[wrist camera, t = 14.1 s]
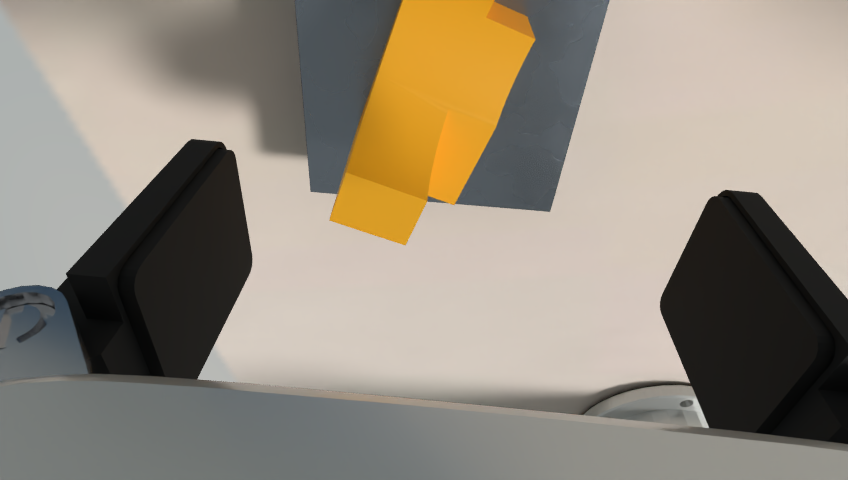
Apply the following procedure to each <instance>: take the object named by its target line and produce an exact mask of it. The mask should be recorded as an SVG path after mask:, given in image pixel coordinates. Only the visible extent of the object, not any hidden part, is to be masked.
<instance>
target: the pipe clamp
mask: <svg viewBox="0 0 848 480" xmlns="http://www.w3.org/2000/svg"><path fill="white" fill-rule="evenodd" d="M535 40H536V39H535V36H534V34H533V31H532V28H531V25H530V23H529V20H528V17H527V16H525V15H523V14H521V13H518V12H516V11H514V10H512V9H509V8H507V7H505V6H503V5H500V4H498V3H496V2H494V0H401V3H400V6H399V9H398V11H397V14H396V17H395V20H394V23H393V26H392V29H391V32H390V35H389V37H388V40H387V43H386V46H385V49H384V52H383V55H382V58H381V61H380V63H379V66H378V69H377V72H376V75H375V78H374V81H373V84H372V86H371V89H370V92H369V95H368V98H367V101H366V104H365V107H364V110H363V112H362V115H361V118H360V121H359V124H358V127H357V130H356V134H355V137H354V140H353V144H352V147H351V150H350V154H349V157H348V160H347V163H346V167H345V170H344V173H343V177H342V180H341V183H340V187H339V190H338V193H337V197H336V200H335V203H334V206H333V210H332V213H331V216H330V221H333V222H336V223H339V224H342V225H345V226H348V227H351V228H354V229H357V230H360V231H363V232H366V233H369V234H372V235H375V236H378V237H382V238H385V239H388V240H391V241H394V242H397V243H400V244H403V245H406V243H407V241H408V239H409V237H410V235H411V233H412V231H413V229H414V227H415V225H416V223H417V221H418V219H419V217H420V215H421V213H422V211H423V209H424V207H425V205H426V203H427V199H428V196H430V197H433V198H435V199H438V200H441V201H444V202H447V203H450V204H452V205H454V204H455V203H456V201H457V199H458V197H459V195H460V193H461V191H462V190H463V188H464V186H465V184H466V182H467V180H468V179H469V177H470V175H471V173H472V171H473V169H474V167H475V166H476V164H477V162H478V160H479V158H480V156H481V154H482V153H483V151H484V149H485V147H486V145H487V143H488V141H489V140H490V138H491V136H492V134H493V132H494V130H495V128H496V126H497V123H498V120H499V118H500V115H501V112H502V109H503V107H504V104H505V102H506V99H507V97H508V95H509V92H510V90H511V88H512V85H513V83H514V81H515V79H516V77H517V74H518V72H519V70H520V68H521V66H522V64H523V62H524V60H525V58H526V56H527V54H528V52H529V51H530V49H531V47H532V45H533V43H534V41H535Z"/></svg>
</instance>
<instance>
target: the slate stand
mask: <svg viewBox="0 0 848 480" xmlns="http://www.w3.org/2000/svg"><path fill="white" fill-rule="evenodd" d="M494 2H496V3H498V4H500V5H503V6H505V7H507V8H509V9H512V10H514V11H516V12H518V13H521V14H523V15H525V16H527V17H528V20H529V23H530V25H531V28H532V31H533V34H534V36H535V39H536V40H535V41H534V43H533V45H532V47H531V49H530V51H529V52H528V54H527V56H526V58H525V60H524V62H523V64H522V66H521V68H520V70H519V72H518V74H517V77H516V79H515V81H514V83H513V85H512V88H511V90H510V92H509V95H508V97H507V99H506V102H505V104H504V107H503V109H502V112H501V115H500V118H499V120H498V123H497V126H496V128H495V130H494V132H493V134H492V136H491V138H490V140H489V141H488V143H487V145H486V147H485V149H484V151H483V153H482V154H481V156H480V158H479V160H478V162H477V164H476V166H475V167H474V169H473V171H472V173H471V175H470V177H469V179H468V180H467V182H466V184H465V186H464V188H463V190H462V191H461V193H460V195H459V197H458V199H457V201H456V203H455V204H464V205H476V206H488V207H500V208H512V209H524V210H536V211H548V212H550V210H551V206H552V203H553V199H554V196H555V192H556V189H557V185H558V182H559V178H560V174H561V171H562V167H563V164H564V160H565V157H566V153H567V150H568V146H569V142H570V139H571V135H572V132H573V128H574V125H575V121H576V118H577V114H578V110H579V107H580V103H581V100H582V96H583V93H584V89H585V86H586V82H587V78H588V75H589V71H590V68H591V64H592V61H593V57H594V54H595V50H596V46H597V43H598V39H599V36H600V32H601V29H602V25H603V22H604V18H605V14H606V11H607V7H608V4H609V0H494ZM400 3H401V0H295V9H296V21H297V33H298V45H299V57H300V69H301V81H302V93H303V105H304V117H305V129H306V141H307V153H308V166H309V178H310V190H311V192H320V193H332V194H337V193H338V190H339V187H340V183H341V180H342V177H343V173H344V170H345V167H346V163H347V160H348V157H349V154H350V150H351V147H352V144H353V140H354V137H355V134H356V130H357V127H358V124H359V121H360V118H361V115H362V112H363V110H364V107H365V104H366V101H367V98H368V95H369V92H370V89H371V86H372V84H373V81H374V78H375V75H376V72H377V69H378V66H379V63H380V61H381V58H382V55H383V52H384V49H385V46H386V43H387V40H388V37H389V35H390V32H391V29H392V26H393V23H394V20H395V17H396V14H397V11H398V9H399V6H400ZM427 201H428V202H440V203H447V202H444V201H441V200H438V199H435V198H433V197H430V196H428V199H427Z"/></svg>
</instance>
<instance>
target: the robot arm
mask: <svg viewBox="0 0 848 480" xmlns="http://www.w3.org/2000/svg"><path fill="white" fill-rule="evenodd" d="M251 268H252V252H251V246H250V240H249V234H248V228H247V222H246V216H245V210H244V204H243V198H242V192H241V187H240V181H239V175H238V169H237V163H236V157H235V154H234V152H233V151H232V150H226V147H225V145H224V144H223V143H222V142H216V141H206V140H195V139H191V140H190V141H188V142H187V143H186V144H185V145H184V147H183V148H182V149H181V150H180V151H179V152H178V153H177V154H176V155H175V156H174V157H173V158H172V159H171V161H170V162H169V163H168V164H167V165H166V166H165V167H164V168H163V169H162V170H161V171H160V172H159V174H158V175H157V176H156V177H155V178H154V179H153V180H152V181H151V182H150V183H149V184H148V185H147V187H146V188H145V189H144V190H143V191H142V192H141V193H140V194H139V195H138V196H137V197H136V198H135V199H134V201H133V202H132V203H131V204H130V205H129V206H128V207H127V208H126V209H125V210H124V211H123V213H122V214H121V215H120V216H119V217H118V218H117V219H116V220H115V221H114V222H113V223H112V224H111V226H110V227H109V228H108V229H107V230H106V231H105V232H104V233H103V234H102V235H101V236H100V237H99V238H98V239H97V241H96V242H95V243H94V244H93V245H92V246H91V247H90V248H89V249H88V250H87V251H86V253H85V254H84V255H83V256H82V257H81V258H80V259H79V260H78V261H77V262H76V263H75V264H74V265H73V267H72V268H71V269H70V270H69V271H68V272H67V273H66V275H67V277H68V278H67V279H66V280H65V281H64V282H63V283H62V284H61V285H60V286H59V288H58V289H57V290H56V289H54V288H52V287H46V286H40V285H32V286H20V287H15V288H11V289H6V290H3V291H0V480H848V299H847V298H846V297H845V295H844V294H843V293H842V292H841V291H840V290H839V288H838V287H837V286H836V285H835V284H834V282H833V281H832V280H831V279H830V278H829V276H828V275H827V274H826V273H825V272H824V270H823V269H822V268H821V267H820V266H819V264H818V263H817V262H816V261H815V260H814V259H813V257H812V256H811V255H810V254H809V253H808V251H807V250H806V249H805V248H804V247H803V245H802V244H801V243H800V242H799V241H798V239H797V238H796V237H795V236H794V235H793V233H792V232H791V231H790V230H789V229H788V228H787V226H786V225H785V224H784V223H783V222H782V220H781V219H780V218H779V217H778V216H777V214H776V213H775V212H774V211H773V210H772V208H771V207H770V206H769V205H768V204H767V202H766V201H765V200H764V199H763V198H762V197H761V196H760V195H759V194H758V193H752V192H742V191H731V190H725V191H722V192H721V193H720V194H719V195H718V196H714V197H711V198H710V199H709V201H708V202H707V204H706V206H705V208H704V210H703V212H702V214H701V216H700V218H699V220H698V222H697V224H696V226H695V228H694V230H693V232H692V235H691V237H690V239H689V241H688V243H687V245H686V247H685V249H684V251H683V253H682V255H681V257H680V259H679V261H678V263H677V265H676V267H675V269H674V271H673V273H672V276H671V278H670V280H669V282H668V284H667V286H666V288H665V290H664V292H663V294H662V297H661V301H660V310H661V314H662V316H663V319H664V321H665V323H666V326H667V328H668V331H669V333H670V335H671V338H672V340H673V343H674V345H675V347H676V350H677V352H678V355H679V357H680V359H681V362H682V364H683V367H684V369H685V371H686V374H687V376H688V379H689V381H690V383H691V386H685V385H661V386H652V387H645V388H640V389H635V390H631V391H627V392H624V393H621V394H618V395H615V396H613V397H610V398H608V399H606V400H604V401H602V402H600V403H598V404H597V405H595V406H594V407H592V408H591V409H589V410H588V411H587V412H586V413H585V414H584V415H576V414H565V413H555V412H545V411H535V410H525V409H515V408H504V407H494V406H484V405H473V404H463V403H453V402H442V401H432V400H422V399H411V398H401V397H390V396H379V395H368V394H357V393H347V392H336V391H325V390H314V389H303V388H292V387H281V386H270V385H260V384H249V383H235V382H222V381H209V380H197V378H198V376H199V374H200V372H201V370H202V368H203V366H204V364H205V362H206V360H207V358H208V356H209V354H210V352H211V350H212V348H213V346H214V344H215V342H216V340H217V338H218V336H219V334H220V332H221V330H222V328H223V326H224V324H225V322H226V320H227V318H228V316H229V314H230V312H231V310H232V308H233V306H234V304H235V302H236V300H237V298H238V296H239V294H240V292H241V290H242V288H243V286H244V284H245V282H246V280H247V278H248V276H249V274H250V271H251Z"/></svg>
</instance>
